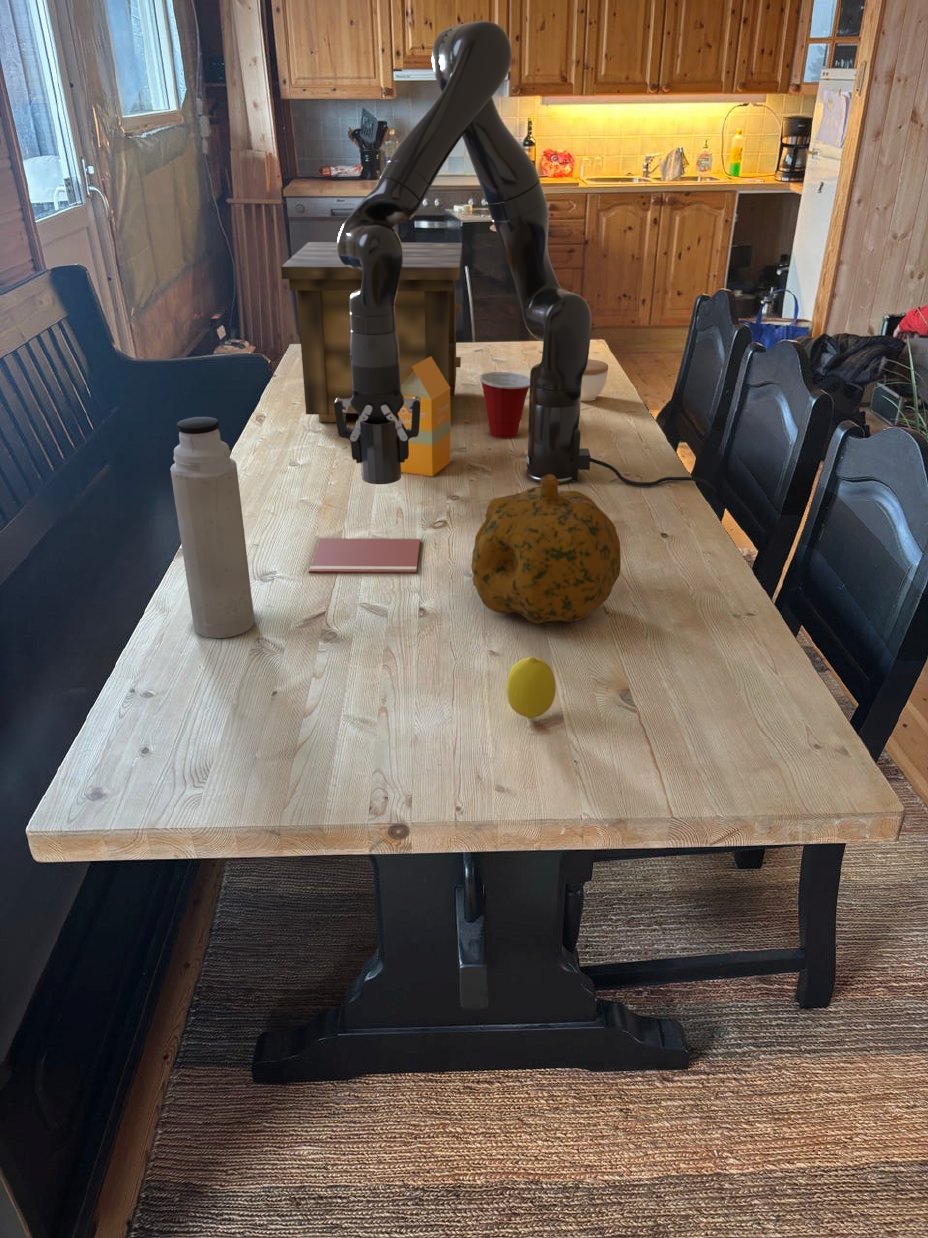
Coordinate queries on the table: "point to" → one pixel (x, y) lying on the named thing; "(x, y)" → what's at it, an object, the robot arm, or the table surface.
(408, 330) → the crate
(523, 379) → the plastic cup
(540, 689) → the lemon
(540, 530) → the decorative pumpkin
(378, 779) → the table surface
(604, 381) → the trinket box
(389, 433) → the black cup
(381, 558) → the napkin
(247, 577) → the thermos bottle
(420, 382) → the orange juice
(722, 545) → the table surface
